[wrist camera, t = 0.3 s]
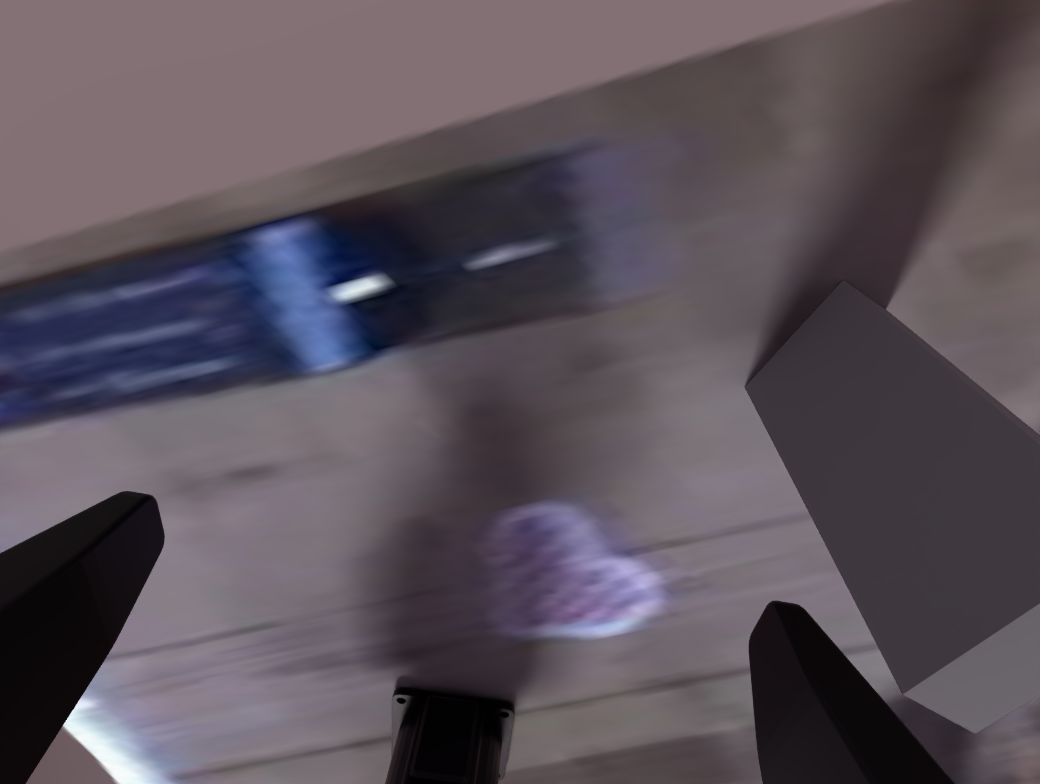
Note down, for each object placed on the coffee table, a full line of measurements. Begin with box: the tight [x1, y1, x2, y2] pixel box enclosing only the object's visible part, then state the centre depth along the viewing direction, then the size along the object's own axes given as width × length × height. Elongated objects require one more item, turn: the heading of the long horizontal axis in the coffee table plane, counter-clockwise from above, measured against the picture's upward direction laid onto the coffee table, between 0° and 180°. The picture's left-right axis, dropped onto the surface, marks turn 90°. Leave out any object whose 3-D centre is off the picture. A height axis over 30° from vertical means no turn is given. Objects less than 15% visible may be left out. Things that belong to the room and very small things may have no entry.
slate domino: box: [745, 280, 1040, 734], centre depth 17 cm, size 2×5×13 cm, turn 149°
